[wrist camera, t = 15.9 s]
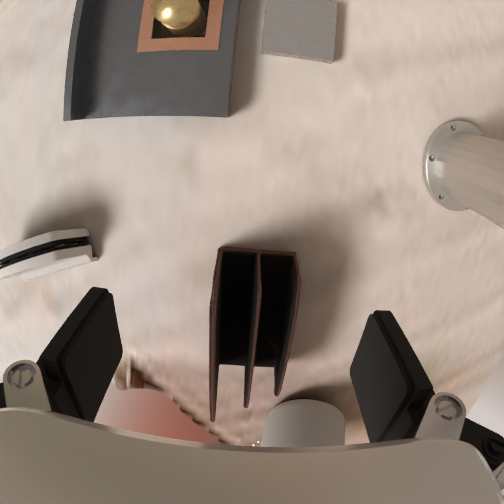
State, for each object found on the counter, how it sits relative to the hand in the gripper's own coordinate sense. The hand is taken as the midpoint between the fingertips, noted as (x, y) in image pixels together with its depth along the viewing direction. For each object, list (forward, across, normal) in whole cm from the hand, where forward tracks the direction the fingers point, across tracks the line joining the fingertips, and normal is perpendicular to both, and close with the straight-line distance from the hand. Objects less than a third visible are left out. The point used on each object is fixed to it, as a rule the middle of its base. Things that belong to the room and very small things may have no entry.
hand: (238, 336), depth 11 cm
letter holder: (+29, -2, +19) cm, 34 cm away
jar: (+28, -12, +43) cm, 53 cm away
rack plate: (+28, +12, -19) cm, 36 cm away
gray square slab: (+28, -4, -19) cm, 34 cm away
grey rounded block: (+29, +29, +12) cm, 43 cm away
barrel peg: (+28, +9, -19) cm, 35 cm away
